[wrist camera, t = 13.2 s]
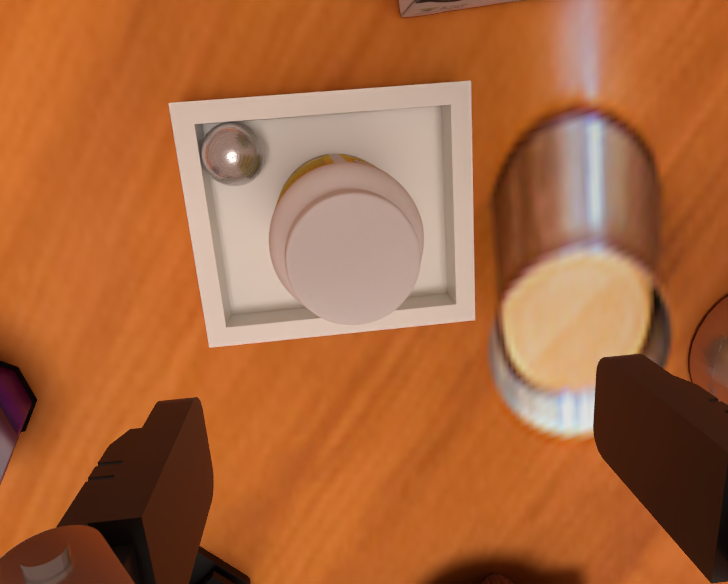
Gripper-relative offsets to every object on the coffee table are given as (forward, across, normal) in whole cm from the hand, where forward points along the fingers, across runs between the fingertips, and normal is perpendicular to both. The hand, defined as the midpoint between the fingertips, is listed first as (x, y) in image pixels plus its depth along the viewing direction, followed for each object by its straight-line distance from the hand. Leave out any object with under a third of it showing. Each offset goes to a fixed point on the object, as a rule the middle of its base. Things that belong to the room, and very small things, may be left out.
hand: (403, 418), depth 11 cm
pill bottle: (+20, 0, -1) cm, 20 cm away
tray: (+20, +1, -1) cm, 21 cm away
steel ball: (+20, +5, -5) cm, 21 cm away
